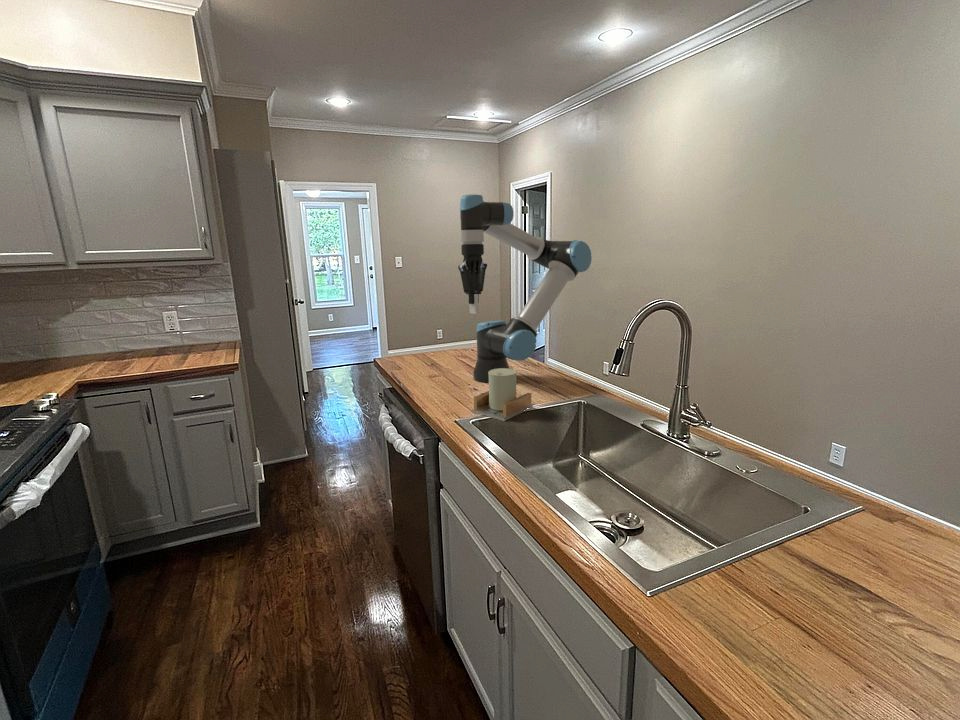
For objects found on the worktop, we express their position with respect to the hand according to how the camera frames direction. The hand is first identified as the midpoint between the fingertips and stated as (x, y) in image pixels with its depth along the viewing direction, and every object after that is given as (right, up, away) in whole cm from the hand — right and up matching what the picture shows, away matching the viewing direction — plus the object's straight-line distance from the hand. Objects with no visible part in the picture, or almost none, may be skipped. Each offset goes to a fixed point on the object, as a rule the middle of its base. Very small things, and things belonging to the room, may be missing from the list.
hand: (474, 313), depth 166 cm
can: (+9, -31, -10) cm, 34 cm away
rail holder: (+9, -33, -10) cm, 35 cm away
